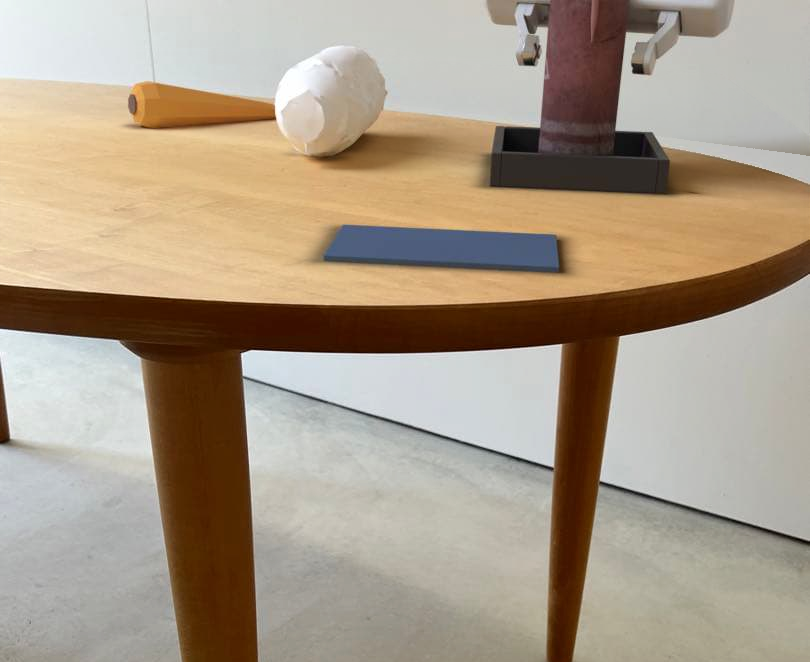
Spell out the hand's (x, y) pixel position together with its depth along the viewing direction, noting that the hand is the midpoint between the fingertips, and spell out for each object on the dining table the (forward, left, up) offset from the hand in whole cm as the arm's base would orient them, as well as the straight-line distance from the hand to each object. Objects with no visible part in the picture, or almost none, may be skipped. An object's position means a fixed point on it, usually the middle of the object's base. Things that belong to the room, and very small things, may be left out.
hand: (581, 65), depth 88 cm
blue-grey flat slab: (+9, +26, -9) cm, 29 cm away
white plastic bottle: (+21, -8, -9) cm, 24 cm away
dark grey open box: (0, -1, -9) cm, 9 cm away
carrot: (+34, -21, -9) cm, 41 cm away
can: (0, -1, -8) cm, 9 cm away
